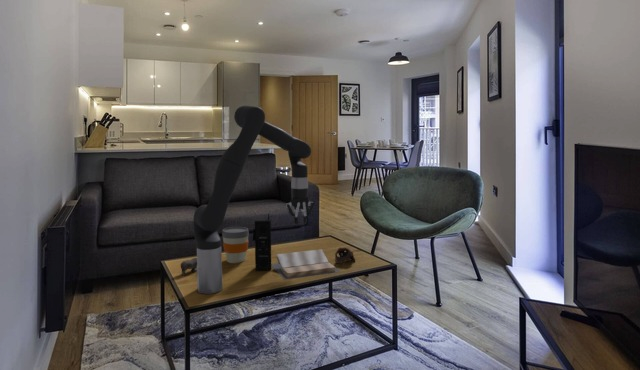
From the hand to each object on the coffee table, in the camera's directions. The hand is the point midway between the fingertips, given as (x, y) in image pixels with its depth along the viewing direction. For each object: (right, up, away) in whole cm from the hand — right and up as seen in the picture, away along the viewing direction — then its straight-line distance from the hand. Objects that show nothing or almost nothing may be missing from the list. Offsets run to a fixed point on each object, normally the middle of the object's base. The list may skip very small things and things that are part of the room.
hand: (299, 224), depth 197 cm
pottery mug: (+21, -19, +6) cm, 29 cm away
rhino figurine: (-47, -20, -6) cm, 51 cm away
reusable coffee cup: (-31, -18, +9) cm, 37 cm away
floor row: (+4, -20, -8) cm, 22 cm away
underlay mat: (+2, -20, -3) cm, 20 cm away
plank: (+1, -17, 0) cm, 17 cm away
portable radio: (-17, -20, -4) cm, 26 cm away
